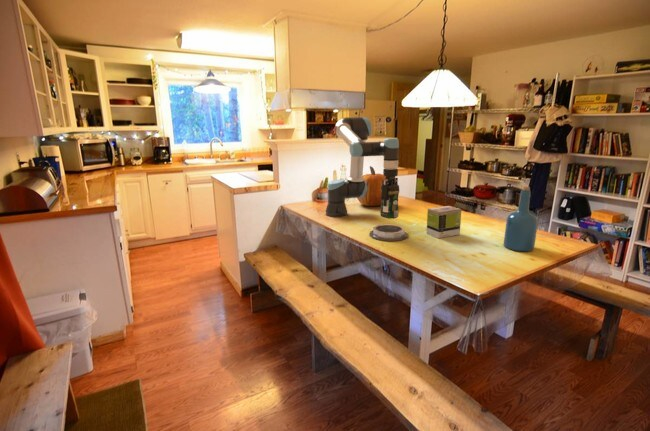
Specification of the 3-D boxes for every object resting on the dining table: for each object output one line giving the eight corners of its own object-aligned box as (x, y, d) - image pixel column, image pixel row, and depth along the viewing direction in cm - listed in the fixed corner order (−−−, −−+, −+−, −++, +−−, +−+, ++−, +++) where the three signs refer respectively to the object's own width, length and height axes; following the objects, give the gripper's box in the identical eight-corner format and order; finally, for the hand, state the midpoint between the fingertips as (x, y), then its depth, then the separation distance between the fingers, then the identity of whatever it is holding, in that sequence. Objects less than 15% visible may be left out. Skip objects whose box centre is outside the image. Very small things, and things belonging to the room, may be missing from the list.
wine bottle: (518, 254, 156) (527, 190, 148) (496, 244, 168) (503, 185, 161) (541, 250, 159) (551, 188, 152) (518, 241, 172) (526, 183, 164)
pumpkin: (358, 209, 246) (358, 168, 238) (353, 202, 267) (353, 164, 260) (393, 208, 248) (394, 167, 240) (385, 201, 269) (386, 164, 262)
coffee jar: (377, 216, 185) (378, 183, 180) (388, 214, 189) (389, 181, 185) (390, 220, 177) (391, 185, 173) (400, 217, 182) (402, 183, 177)
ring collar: (380, 227, 200) (380, 221, 199) (414, 233, 188) (414, 227, 187) (362, 236, 184) (362, 230, 183) (398, 244, 172) (398, 237, 171)
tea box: (447, 230, 193) (449, 205, 189) (460, 235, 184) (462, 208, 180) (425, 233, 188) (427, 207, 184) (437, 238, 179) (439, 211, 175)
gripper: (388, 171, 166) (386, 215, 172) (405, 166, 183) (404, 207, 188) (374, 170, 171) (373, 213, 176) (393, 166, 187) (391, 205, 193)
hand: (389, 210), depth 182 cm, fingers closed on coffee jar, 8 cm apart
